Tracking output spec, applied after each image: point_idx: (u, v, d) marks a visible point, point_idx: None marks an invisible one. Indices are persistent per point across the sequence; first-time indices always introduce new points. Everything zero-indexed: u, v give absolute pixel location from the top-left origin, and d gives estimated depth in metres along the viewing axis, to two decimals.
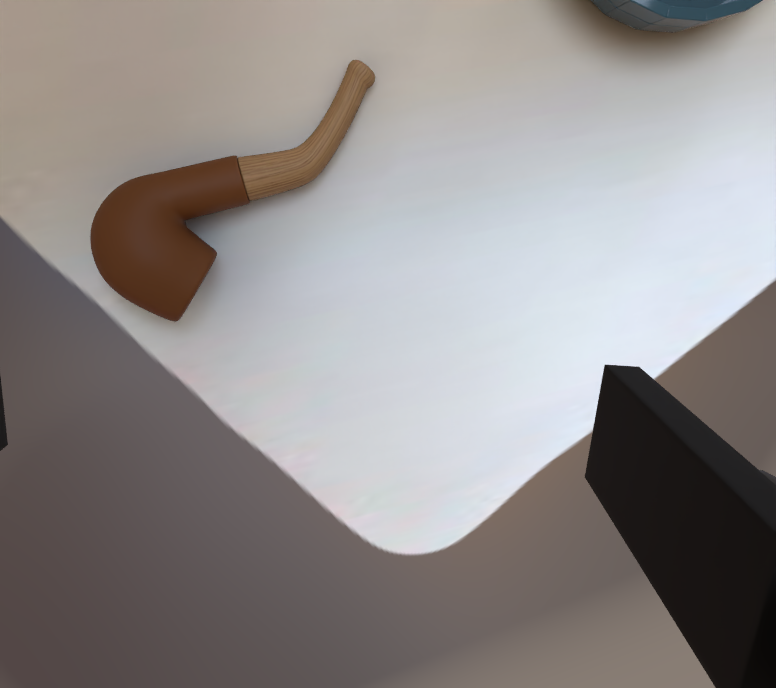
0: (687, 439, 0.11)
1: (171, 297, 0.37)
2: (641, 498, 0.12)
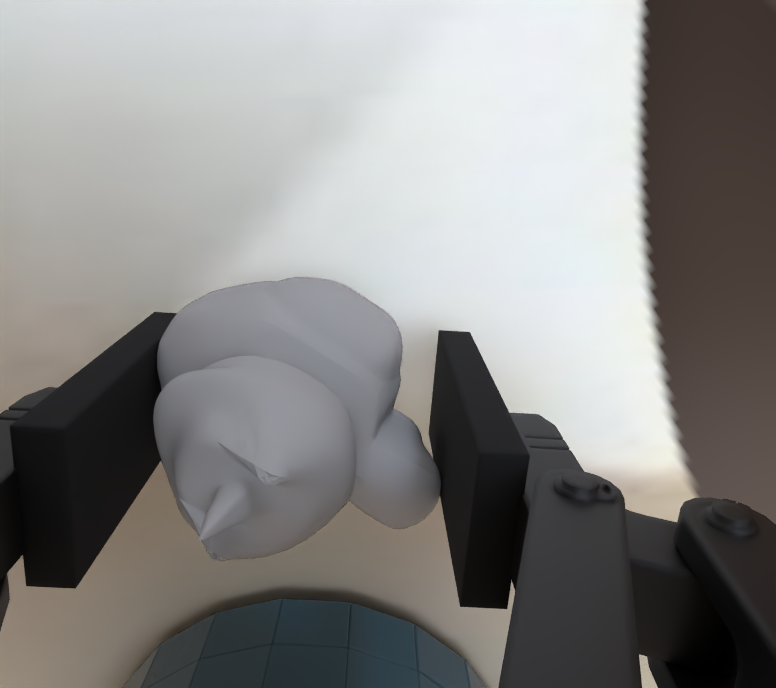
0: (462, 385, 0.12)
1: None
2: (444, 441, 0.14)
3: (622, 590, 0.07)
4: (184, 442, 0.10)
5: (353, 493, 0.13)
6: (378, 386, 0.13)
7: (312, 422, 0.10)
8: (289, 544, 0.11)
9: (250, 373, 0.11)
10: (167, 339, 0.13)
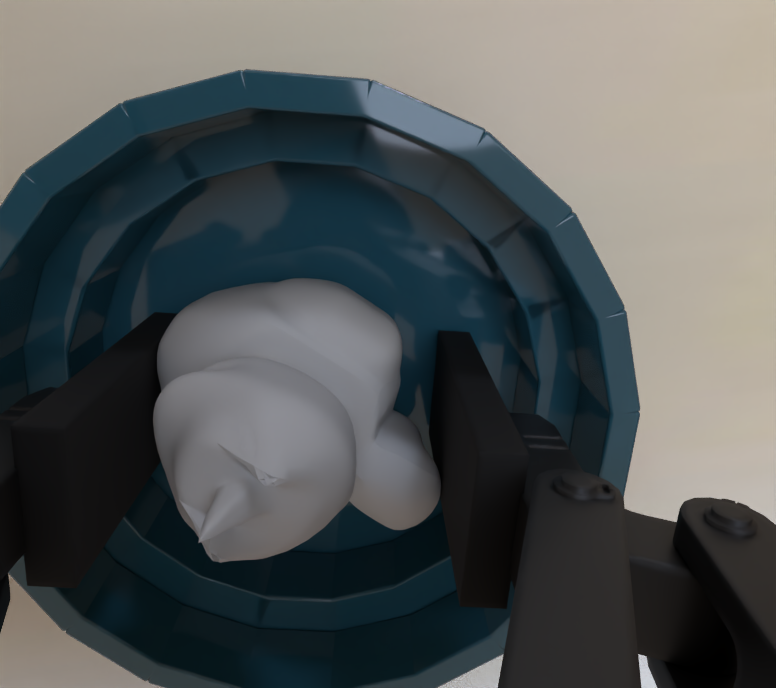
0: (463, 385, 0.12)
1: None
2: (443, 441, 0.14)
3: (621, 590, 0.07)
4: (184, 444, 0.10)
5: (353, 494, 0.13)
6: (377, 387, 0.13)
7: (312, 423, 0.10)
8: (289, 545, 0.11)
9: (249, 374, 0.11)
10: (166, 340, 0.13)
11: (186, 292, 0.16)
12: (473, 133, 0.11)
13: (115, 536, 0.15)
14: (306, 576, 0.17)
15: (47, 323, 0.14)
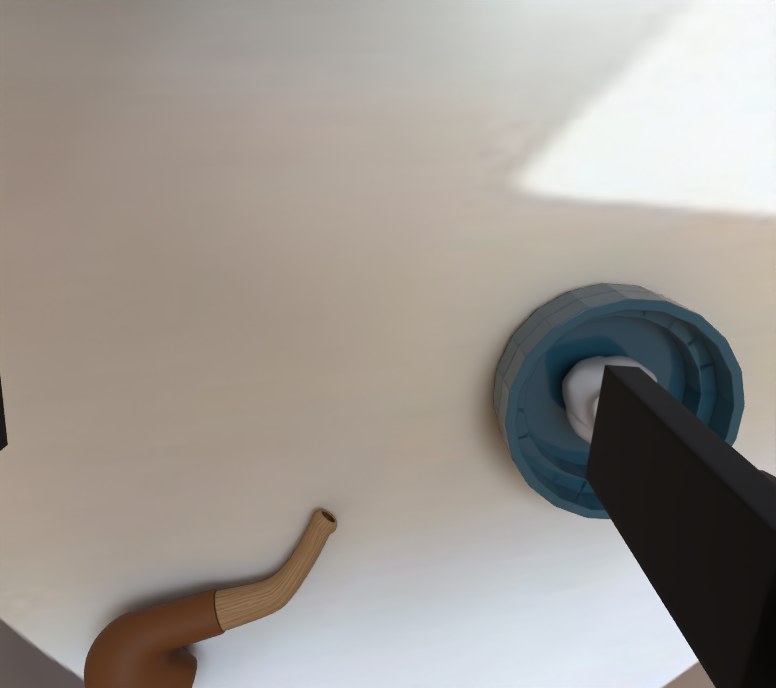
0: (688, 439, 0.11)
1: None
2: (642, 498, 0.12)
3: None
4: None
5: None
6: None
7: None
8: None
9: None
10: (574, 379, 0.37)
11: (556, 358, 0.40)
12: (696, 316, 0.35)
13: (531, 454, 0.39)
14: None
15: None
